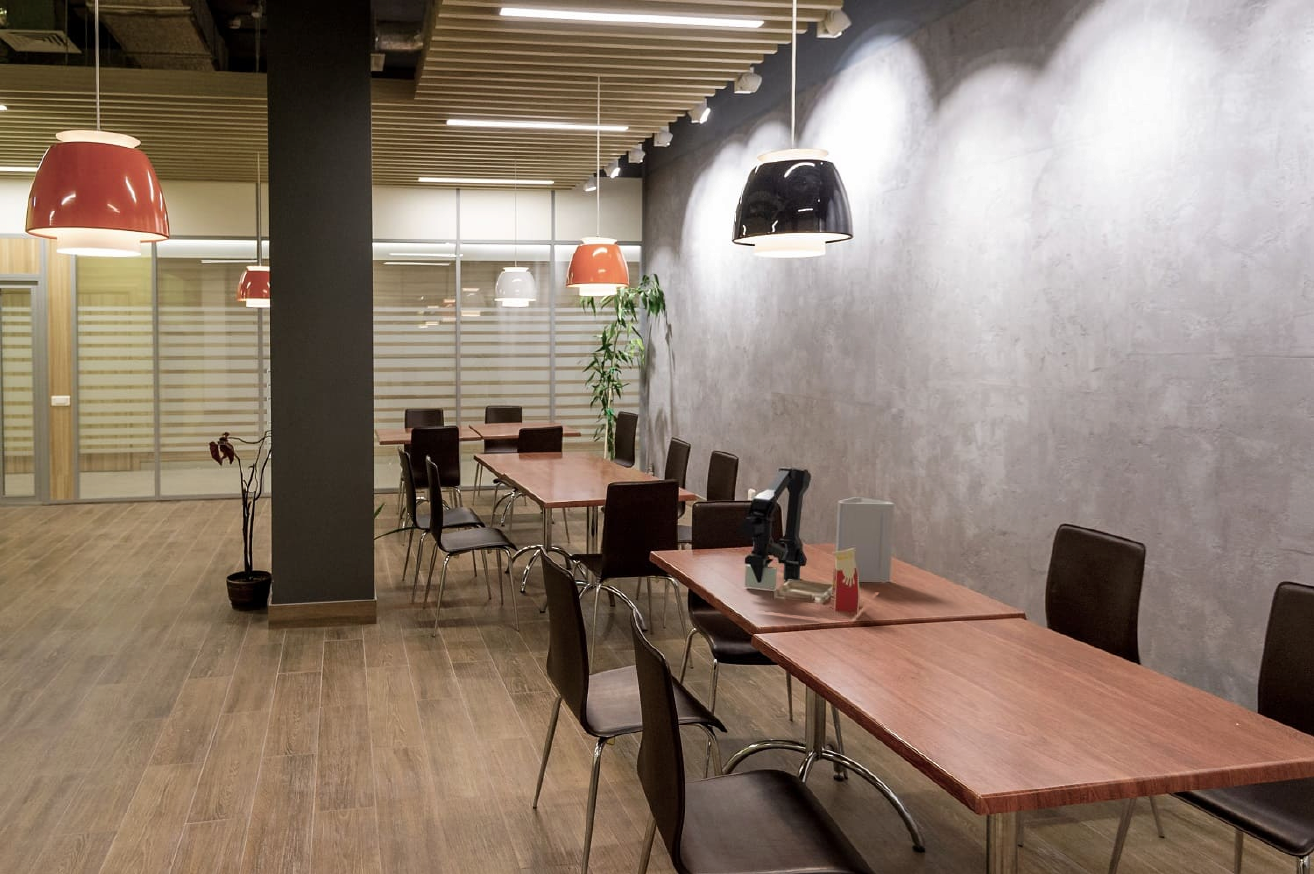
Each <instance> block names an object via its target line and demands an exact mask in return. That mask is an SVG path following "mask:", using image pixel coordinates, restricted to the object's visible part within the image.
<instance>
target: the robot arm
mask: <svg viewBox="0 0 1314 874" xmlns="http://www.w3.org/2000/svg"><path fill="white" fill-rule="evenodd" d="M811 474H812V473H810V472H809V470H808V469H805V468H797V467H791V466H781V467H779V469H778V472H777V474H775V475H776V476H775V477H774V478H773V479H772V481H771V482H770V483H769V485H768V486H767V488H766V489H765V490H763V491H761V492H759V493H758V494H757V495H756V496H754V497H753V499H752V500H751V502H750V505H749V508H748V510H747V513H746V516H745V517H746V518H745V521H744V522H742V523H741V524H740V527H739V533H740V535H741V536H742V537H743V538H744V539H746V540H751V542H753V545H752V549H751V551H750V552H751V553H750V554H749V553H748V555H746V556H745V558H744V565H750V566H751V568H752V570H753V572H754V575H755V577H756V579H757V582H759V583H761V580H762V575H763V570H764V567H765V566H766V567H769V565H770V564H771V563H772V562H773V561H774V559H773V558H777V560H778V564H782V565H783V577H782V579H783V580H784V581H786V582H787V581H788V579H793V580H802V581H804V580H803V578H801V567H806V565H807V560H808V559H807V556H806V554H805V552H804V550H803V548H804V547H803V545H804V544H803V542H802V540H801V537H800V530H801V529H800V528H801V518H802V509H803V508H802V507H803V501H804V494H805V493H806V492H807V491H808V489H809V486H810V482H811V479H812V475H811ZM786 489H787V492H788V500H787V509H786V510H787V511H786V519H785V520H786V521H785V529H784V531H785V532H784V535H783V536H782V538H780V539H778V541H777V542H778V543H775V542H774V538H773V537H772V521H775V518H774V516H773V515H774V514H775V512H776V510H777V508H778V500H779V498H780V497H781V495H783V493H784V491H785V490H786ZM770 556H773V558H770Z"/></svg>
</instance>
